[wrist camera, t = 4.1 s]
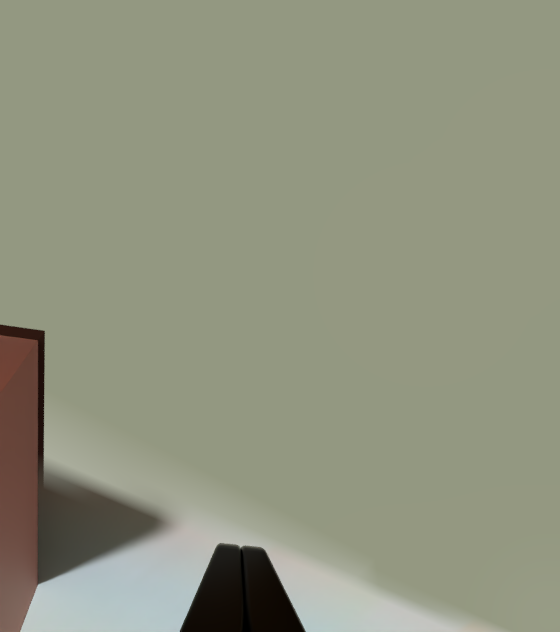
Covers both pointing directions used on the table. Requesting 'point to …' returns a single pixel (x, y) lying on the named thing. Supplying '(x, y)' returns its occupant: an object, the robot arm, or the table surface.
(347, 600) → the table surface
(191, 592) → the table surface
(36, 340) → the block
